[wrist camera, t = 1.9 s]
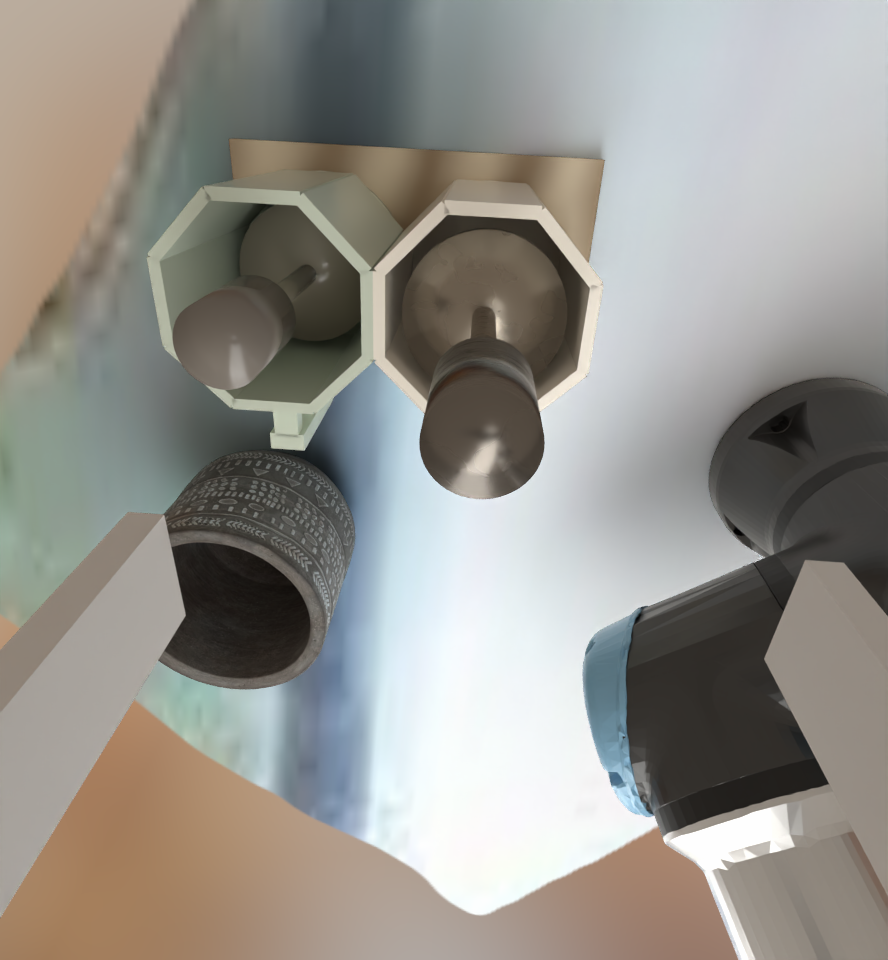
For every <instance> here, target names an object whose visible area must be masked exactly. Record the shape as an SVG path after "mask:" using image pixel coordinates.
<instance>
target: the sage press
mask: <svg viewBox="0 0 888 960" xmlns="http://www.w3.org/2000/svg"><path fill="white" fill-rule="evenodd" d="M402 231H403V228H402V227H401V226H400V225H399V224H398V223H397V221H396V220H395V219H394V217H393V216H392V214H391V212H390V211H389V209H388V208H387V207H386V205H385V204H384V203H383V201H382V200H381V199H380V198H379V197H378V196H377V195H376V194H375V193H374V192H373V191H371V190H370V189H369V188H368V187H366V186H365V185H364V184H363V182H362V181H361V180H360V179H359V178H358V177H357V175H356V174H355V175H353V173H340V172H332V171H324V170H312V171H306V170H289V169H284V170H279V171H274V172H269V173H264V174H259V175H254V176H250V177H245V178H240V179H235V180H230V181H225V182H220V183H216V184H211V185H206V186H203V187H201V188H200V189H199V190H198V192H197V193H196V194H195V195H194V197H193V198H192V199H191V200H190V202H189V203H188V204H187V205H186V207H185V208H184V209H183V210H182V212H181V213H180V214H179V215H178V217H177V218H176V219H175V220H174V221H173V223H172V224H171V225H170V226H169V228H168V229H167V230H166V231H165V233H164V234H163V235H162V236H161V238H160V239H159V240H158V241H157V243H156V244H155V245H154V246H153V248H152V249H151V250H150V251H149V252H148V255H149V256H148V257H147V262H148V268H149V273H150V279H151V284H152V290H153V295H154V301H155V306H156V312H157V317H158V323H159V328H160V334H161V340H162V345H163V346H166V347H165V348H164V349H165V350H166V351H168V352H169V353H170V354H171V355H172V356H173V357H174V358H175V359H177V360H178V361H179V362H180V363H181V364H182V366H183V367H184V368H185V369H186V371H187V372H188V373H189V374H190V375H191V376H193V377H194V378H195V379H196V380H198V381H199V382H201V383H203V384H204V385H206V386H207V387H208V388H209V389H210V390H211V391H212V392H213V393H214V394H216V395H217V396H218V397H219V398H220V399H221V400H222V401H223V402H225V403H226V404H227V405H228V406H229V407H230V408H231V407H232V406H233V409H242V410H257V411H271V412H273V418H274V428H273V429H272V431H271V432H270V439H271V448H276V449H290V450H304V451H305V449H306V447H307V445H308V444H309V442H310V440H311V438H312V437H313V435H314V433H315V431H316V429H317V428H318V426H319V424H320V422H321V421H322V419H323V417H324V415H325V414H326V412H327V410H328V408H329V406H330V405H331V403H332V401H333V398H334V397H335V396H336V395H337V394H338V393H339V392H340V391H341V390H342V389H343V388H345V387H346V386H347V385H348V384H349V383H350V382H351V381H352V380H353V379H354V378H356V377H357V376H358V375H359V374H360V373H361V372H362V371H363V370H364V369H365V368H367V367H368V366H369V365H370V364H371V363H372V362H373V270H374V267H375V266H376V265H377V264H378V262H379V261H380V260H381V259H382V257H383V256H384V255H385V254H386V252H387V251H388V250H389V249H390V247H391V246H392V245H393V244H394V243H395V241H396V240H397V239H398V238H399V236H400V235H401V234H402V233H403V232H402Z"/></svg>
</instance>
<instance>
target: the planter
mask: <svg viewBox="0 0 888 960" xmlns="http://www.w3.org/2000/svg"><path fill="white" fill-rule="evenodd" d="M163 515H164V516H165V520H166V525H167V530H168V535H169V539H170V544H171V549H172V553H173V558H174V563H175V567H176V572H177V577H178V581H179V586H180V591H181V595H182V600H183V605H184V609H185V614H186V616H185V617H184V619H183V621H182V622H181V624H180V625H179V627H178V629H177V630H176V632H175V634H174V635H173V637H172V639H171V640H170V642H169V643H168V645H167V647H166V648H165V650H164V652H163V653H162V655H161V656H160V658H159V660H158V661H160V662H161V663H163V664H164V665H166V666H167V667H169V668H171V669H172V670H174V671H176V672H178V673H180V674H182V675H184V676H186V677H189V678H191V679H194V680H196V681H199V682H202V683H206V684H209V685H213V686H217V687H223V688H230V689H259V688H266V687H271V686H276V685H279V684H283V683H285V682H288V681H290V680H292V679H294V678H296V677H297V676H299V675H300V674H302V673H303V672H304V671H306V670H307V669H308V668H309V667H310V666H311V665H312V664H313V662H314V661H315V660H316V658H317V657H318V655H319V653H320V651H321V649H322V646H323V643H324V640H325V637H326V634H327V630H328V627H329V624H330V621H331V618H332V615H333V612H334V609H335V606H336V603H337V600H338V596H339V593H340V590H341V587H342V583H343V581H344V578H345V575H346V573H347V570H348V567H349V564H350V561H351V557H352V553H353V549H354V544H355V526H354V521H353V517H352V514H351V511H350V509H349V507H348V505H347V503H346V501H345V499H344V497H343V496H342V494H341V492H340V491H339V490H338V488H337V487H336V486H335V484H334V483H333V482H332V481H331V480H330V479H329V478H328V477H327V476H326V475H325V474H324V473H323V472H322V471H321V470H320V469H318V468H317V467H316V466H314V465H313V464H311V463H309V462H308V461H306V460H304V459H302V458H299V457H297V456H294V455H291V454H287V453H283V452H277V451H266V450H252V451H242V452H236V453H232V454H228V455H226V456H223V457H221V458H218V459H216V460H215V461H213V462H211V463H210V464H208V465H207V466H206V467H204V468H203V469H202V470H201V471H200V472H199V473H198V474H197V475H196V476H195V477H194V478H193V479H192V481H191V482H190V483H189V484H188V485H187V486H186V488H185V489H184V490H183V492H182V493H181V494H180V495H179V497H178V498H177V500H176V501H175V502H174V503H173V504H172V505H171V507H170V508H169V509H168V510H167V511H166V512H165V513H164V514H163Z"/></svg>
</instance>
